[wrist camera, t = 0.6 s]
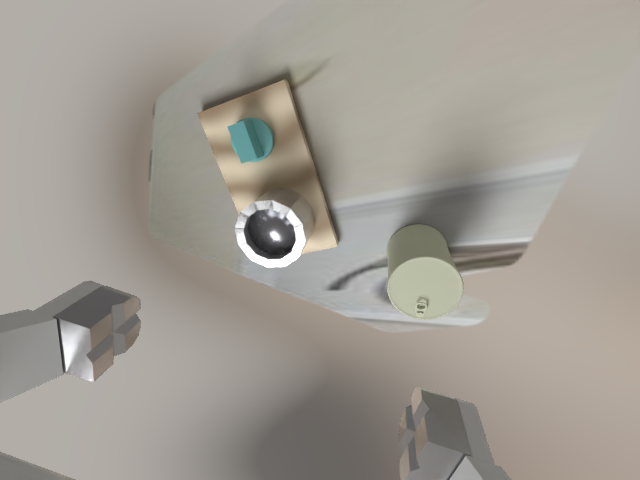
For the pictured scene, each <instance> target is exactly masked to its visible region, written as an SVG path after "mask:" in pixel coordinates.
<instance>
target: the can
mask: <svg viewBox="0 0 640 480" xmlns="http://www.w3.org/2000/svg"><path fill="white" fill-rule="evenodd" d="M387 259H388V286H387V290H388V295H389V298H390V300H391V302H392V304H393V305H394V306H395V308H396V309H397V310H399V311H400V312H401V313H403V314H404V315H406V316H409V317H411V318H415V319H420V320H430V319H436V318H439V317H442V316H444V315H446V314H448V313H449V312H451V311H452V310H453V309H454V308H455V307H456V306H457V305H458V304H459V302H460V300H461V298H462V295H463V289H464V286H463V280H462V277H461V275H460V273H459V271H458V270H457V268H456V266H455V264H454V261H453V259H452V257H451V255H450V252H449V250H448V245H447V242H446V240H445V238H444V237H443V235H442V234H441V233H440V232H439V231H438V230H436V229H434V228H432V227H430V226H427V225H422V224H414V225H409V226H406V227H403V228H402V229H400V230H398V231H397V232H396V233H395V234H394V235H393V236H392V237H391V239H390V241H389V243H388V246H387Z"/></svg>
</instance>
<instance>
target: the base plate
mask: <svg viewBox="0 0 640 480" xmlns="http://www.w3.org/2000/svg"><path fill="white" fill-rule="evenodd" d="M197 114H198V116H199V119H200V121H201V124H202V126H203V128H204V131H205V133H206V136H207V138H208V141H209V143H210V145H211V148H212V150H213V153H214V155H215V158H216V160H217V162H218V165H219V167H220V170H221V172H222V175H223V177H224V180H225V182H226V184H227V187H228V189H229V192H230V194H231V197H232V199H233V201H234V204H235V206H236V209H237V211H238V214H239V213H240V212H241V211H242V210H244V209H245V208H246V207H247V206H249V205H250V204H251V203H252V202H253V201H255V200H256V199H257V198H259V197H260V196H262V195H263V194H264V193H266V192H267V191H268V190H270V189H279V188H288V189H290V190H292V191H295V192H297V193H299V194H301V195H303V197H304V198H305V199H306V201H307V202H308V203H309V204H310V206H311V207H312V208H313V214H314V220H315V226H314V229H313V231H312V233H311V236H310V238H309V240H308V242H307V244H306V245H305V247H304V249H303V251H302V253H301V254H306V253H310V252H315V251H319V250H324V249H328V248H333V247H337V246H338V244H339V242H338V239H337V236H336V232H335V229H334V226H333V223H332V220H331V217H330V213H329V210H328V207H327V204H326V201H325V198H324V194H323V191H322V188H321V185H320V182H319V179H318V175H317V172H316V169H315V166H314V163H313V160H312V156H311V153H310V150H309V147H308V144H307V141H306V137H305V134H304V131H303V128H302V125H301V122H300V118H299V115H298V112H297V109H296V106H295V103H294V99H293V96H292V93H291V90H290V87H289V84H288V80H285V79H284V80H282V81H279V82H276V83H274V84H271V85H269V86H266V87H264V88H261V89H259V90H256V91H253V92H251V93H248V94H246V95H243V96H241V97H238V98H235V99H233V100H230V101H228V102H225V103H223V104H220V105H217V106H215V107H212V108H210V109H207V110H205V111H202V112H200V113H197ZM245 118H258V119H261V120H263V121H264V122H266V123H267V124H268V125H269V127H270V128H271V130H272V132H273V135H274V147H273V150H272V152H271V153H270V155H269V156H268V157H267V158H265V159H263V160H261V161H258V162H245V163H242V164H241V161H240V159H239V156H238V155H237V154H236V153H235V151H234V149H233V147H232V144H231V135H230V132H229V130H228V126H230V125H233V124H236V123H237V122H238V121H240V120H242V119H245ZM301 254H300V255H301Z"/></svg>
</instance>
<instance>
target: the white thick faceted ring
mask: <svg viewBox="0 0 640 480" xmlns="http://www.w3.org/2000/svg"><path fill="white" fill-rule="evenodd" d="M314 226H315V220H314V214H313V208H312V207H311V206H310V204H309V203H308V202H307V201H306V199H305V198H304V197H303V195H301V194H299V193H297V192H295V191H292V190H290V189H288V188H279V189H270V190H268V191H267V192H266V193H264V194H263V195H262V196H260V197H259V198H257V199H256V200H255V201H253V202H252V203H251V204H250V205H249V206H247V207H246V208H245V209H244V210H242V211H241V212H240V213H239V217H238V220H237V223H236V226H235V232H236V236H237V240H238V244H239V246H240V248H241V249H242V250H243V251H244V252H245V254H246V255H247V256H248V257H249V258H250V259H251V260H252V261H255V262H257V263H259V264H261V265H263V266H266V267H285V266H286V265H288V264H289V263H291V262H293V261H294V260H296V259H297V258H299V256H300V254H301V253H302V251H303V249H304V247H305V245H306V244H307V242H308V240H309V238H310V236H311V233H312V231H313V229H314Z"/></svg>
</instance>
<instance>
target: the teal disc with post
mask: <svg viewBox="0 0 640 480" xmlns="http://www.w3.org/2000/svg"><path fill="white" fill-rule="evenodd" d="M228 130H229V132H230V135H231V144H232V147H233V149H234V151H235V153H236V154H237V155H238V156H239V159H240V161H241V164H242V163H245V162H258V161H261V160H263V159H265V158H267V157H268V156H269V155H270V153H271V152H272V150H273V147H274V135H273V132H272V130H271V128H270V127H269V125H268V124H267V123H266V122H264V121H263V120H261V119H258V118H245V119H242V120H240V121H238V122H237V123H236V124H233V125H230V126H228Z"/></svg>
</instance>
